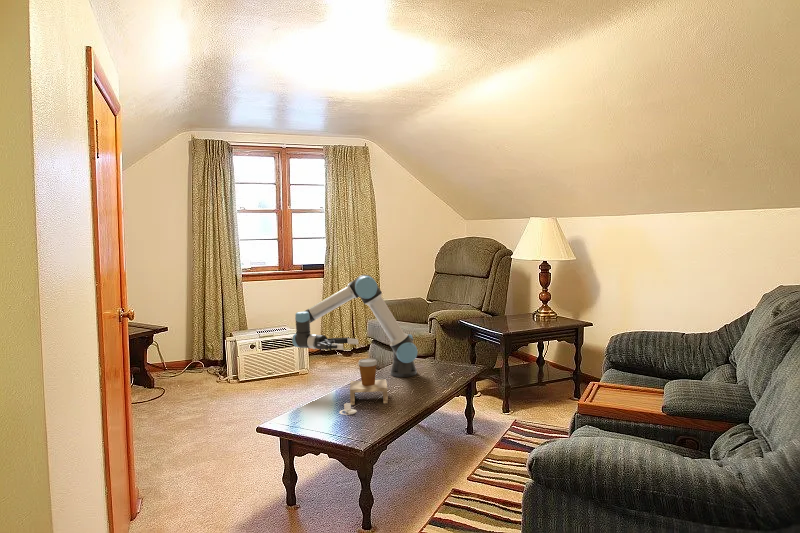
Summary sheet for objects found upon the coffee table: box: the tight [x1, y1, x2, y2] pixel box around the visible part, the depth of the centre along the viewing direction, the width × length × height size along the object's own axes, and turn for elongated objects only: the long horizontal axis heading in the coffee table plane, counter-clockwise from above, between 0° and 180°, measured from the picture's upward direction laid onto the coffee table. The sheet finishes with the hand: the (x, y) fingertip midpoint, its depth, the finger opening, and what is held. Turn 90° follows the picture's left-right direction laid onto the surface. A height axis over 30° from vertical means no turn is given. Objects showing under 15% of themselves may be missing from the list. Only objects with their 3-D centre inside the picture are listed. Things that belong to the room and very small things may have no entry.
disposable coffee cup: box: [357, 357, 378, 386], centre depth 279 cm, size 10×10×12 cm
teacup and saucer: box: [338, 402, 357, 416], centre depth 261 cm, size 9×8×4 cm
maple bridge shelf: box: [349, 378, 389, 406], centre depth 280 cm, size 18×16×8 cm
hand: (350, 344), depth 290 cm, fingers open, 13 cm apart
